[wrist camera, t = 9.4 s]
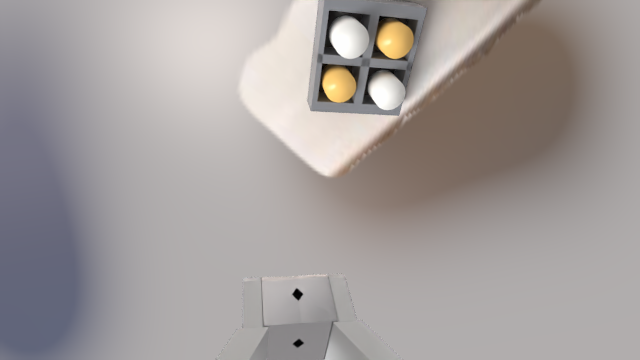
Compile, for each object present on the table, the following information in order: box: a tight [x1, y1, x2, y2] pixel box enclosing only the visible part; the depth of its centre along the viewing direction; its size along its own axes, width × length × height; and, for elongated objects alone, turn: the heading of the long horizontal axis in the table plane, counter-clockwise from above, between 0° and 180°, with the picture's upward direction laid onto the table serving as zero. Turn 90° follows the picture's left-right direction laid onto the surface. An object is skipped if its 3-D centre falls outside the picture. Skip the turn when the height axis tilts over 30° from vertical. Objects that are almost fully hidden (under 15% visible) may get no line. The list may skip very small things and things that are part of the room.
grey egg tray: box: [307, 0, 427, 116], centre depth 35 cm, size 10×9×2 cm
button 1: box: [320, 64, 356, 103], centre depth 35 cm, size 3×3×3 cm
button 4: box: [374, 18, 414, 59], centre depth 34 cm, size 3×3×3 cm
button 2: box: [367, 70, 406, 110], centre depth 35 cm, size 3×3×3 cm
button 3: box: [329, 15, 369, 59], centre depth 32 cm, size 3×3×3 cm
